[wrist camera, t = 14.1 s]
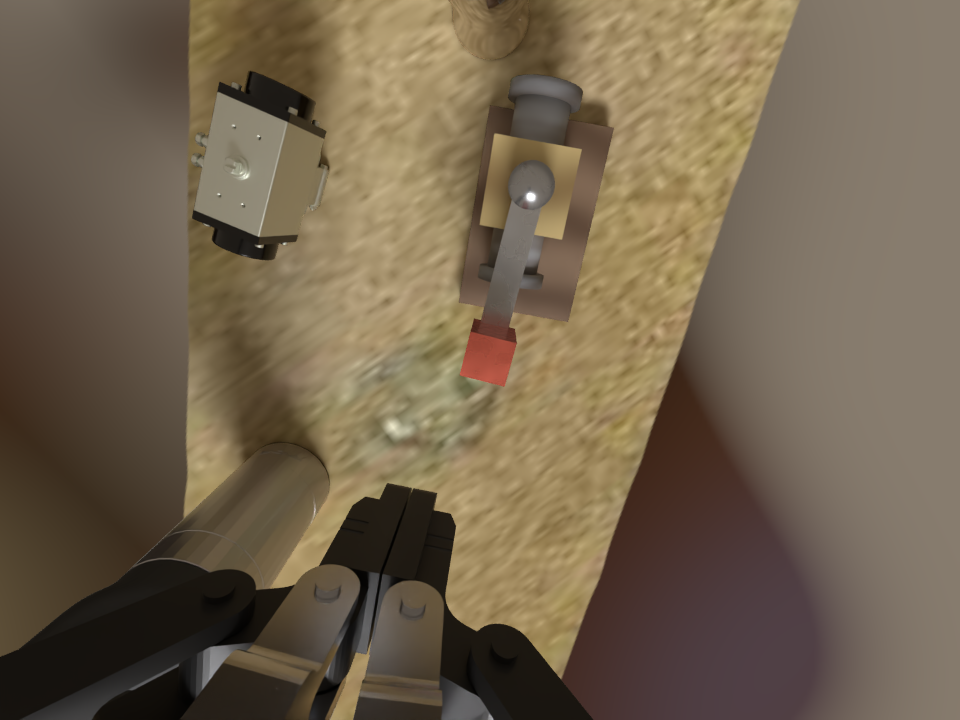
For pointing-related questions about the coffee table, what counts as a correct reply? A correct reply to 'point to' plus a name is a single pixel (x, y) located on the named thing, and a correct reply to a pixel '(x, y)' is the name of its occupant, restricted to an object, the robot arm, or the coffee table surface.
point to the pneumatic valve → (259, 167)
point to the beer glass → (490, 26)
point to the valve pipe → (562, 221)
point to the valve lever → (508, 275)
